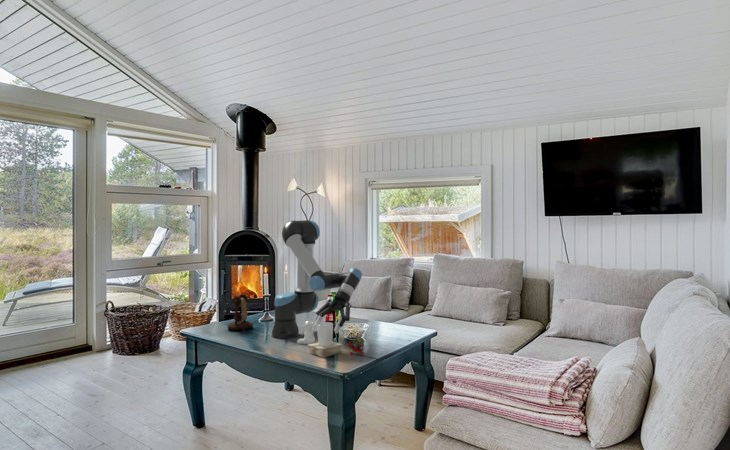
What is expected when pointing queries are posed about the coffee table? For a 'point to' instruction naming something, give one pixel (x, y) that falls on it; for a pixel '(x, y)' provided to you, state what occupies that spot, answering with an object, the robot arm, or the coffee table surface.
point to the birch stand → (324, 349)
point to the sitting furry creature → (307, 334)
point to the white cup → (325, 333)
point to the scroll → (240, 314)
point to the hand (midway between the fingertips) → (325, 329)
